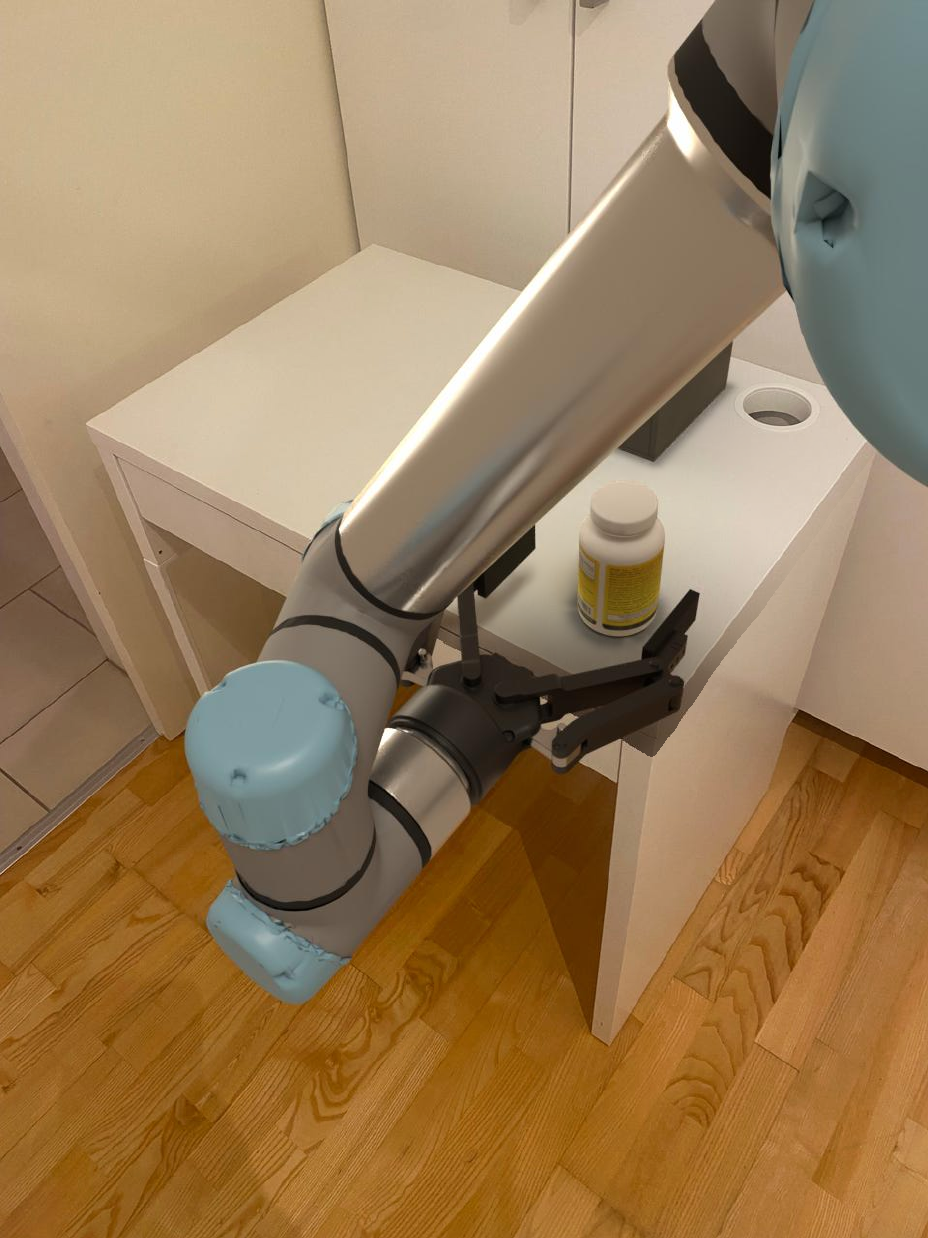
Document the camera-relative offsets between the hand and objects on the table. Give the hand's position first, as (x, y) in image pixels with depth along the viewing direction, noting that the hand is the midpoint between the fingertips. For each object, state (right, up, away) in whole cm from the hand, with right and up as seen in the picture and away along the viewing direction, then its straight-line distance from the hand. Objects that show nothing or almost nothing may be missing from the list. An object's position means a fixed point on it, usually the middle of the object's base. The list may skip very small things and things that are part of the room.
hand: (608, 567), depth 70 cm
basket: (+5, +18, +24) cm, 31 cm away
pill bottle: (+1, -3, +5) cm, 6 cm away
